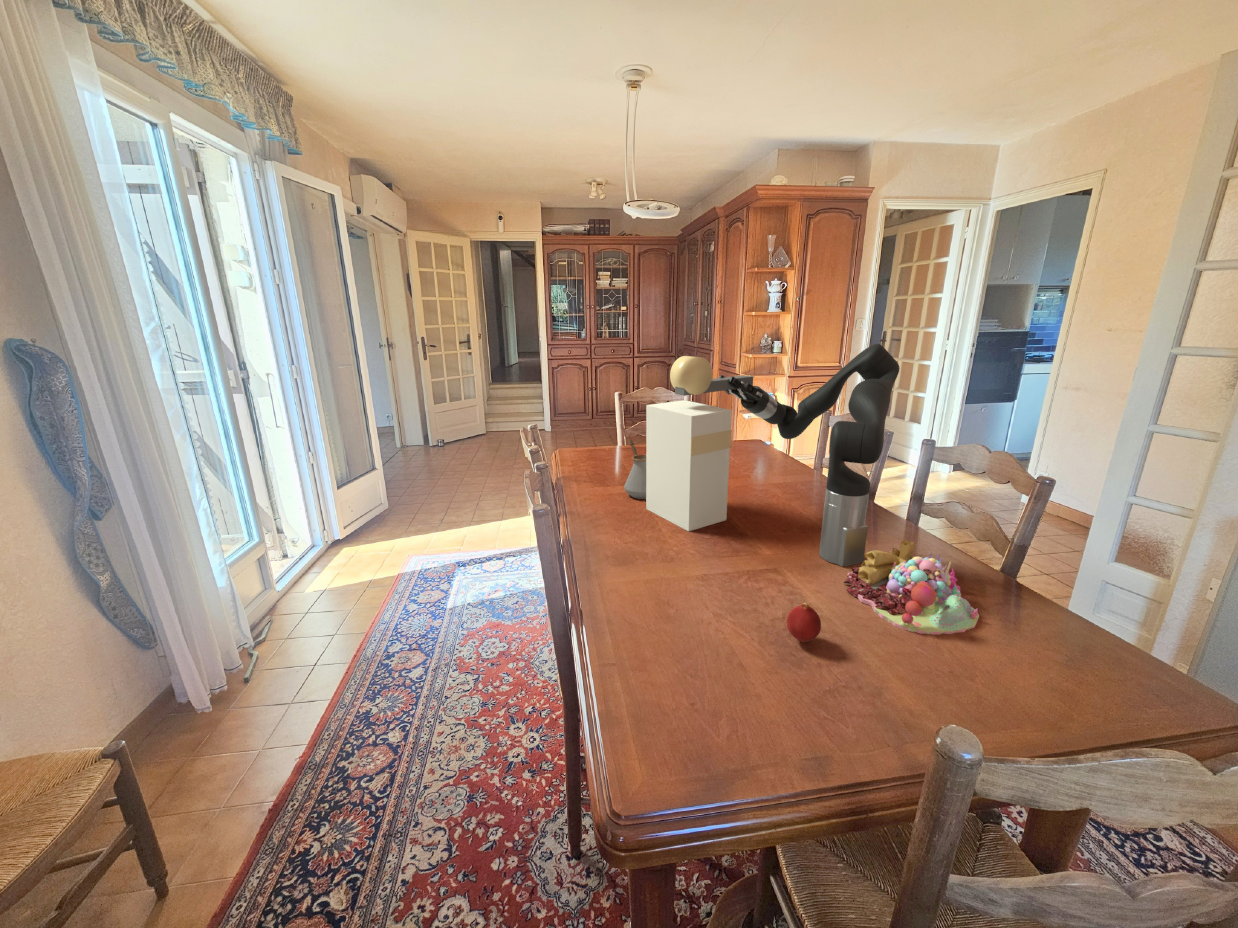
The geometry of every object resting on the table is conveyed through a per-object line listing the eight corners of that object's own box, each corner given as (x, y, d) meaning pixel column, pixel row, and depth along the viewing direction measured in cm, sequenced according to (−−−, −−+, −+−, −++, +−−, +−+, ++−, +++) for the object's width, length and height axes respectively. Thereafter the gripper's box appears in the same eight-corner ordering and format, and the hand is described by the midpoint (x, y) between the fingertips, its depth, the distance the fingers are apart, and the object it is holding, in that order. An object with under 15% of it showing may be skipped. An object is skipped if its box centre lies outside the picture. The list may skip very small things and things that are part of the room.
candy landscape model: (822, 581, 113) (826, 543, 110) (902, 562, 121) (907, 526, 118) (922, 647, 91) (930, 601, 88) (1012, 618, 98) (1022, 575, 96)
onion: (792, 627, 96) (796, 590, 94) (823, 639, 92) (828, 600, 90) (780, 642, 92) (783, 604, 89) (812, 655, 88) (816, 615, 86)
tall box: (689, 531, 138) (692, 416, 129) (646, 508, 155) (646, 405, 146) (727, 520, 145) (732, 410, 136) (682, 499, 162) (684, 400, 153)
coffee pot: (663, 499, 163) (664, 454, 158) (628, 502, 160) (628, 456, 156) (646, 478, 183) (646, 438, 178) (615, 481, 180) (614, 440, 176)
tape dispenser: (683, 396, 135) (684, 358, 133) (669, 393, 140) (670, 357, 137) (755, 387, 149) (757, 352, 146) (740, 384, 154) (742, 351, 151)
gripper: (747, 389, 162) (713, 365, 152) (782, 394, 150) (748, 369, 140) (737, 410, 162) (702, 388, 152) (772, 417, 150) (737, 393, 140)
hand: (724, 379), depth 146 cm, fingers closed on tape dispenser, 4 cm apart
